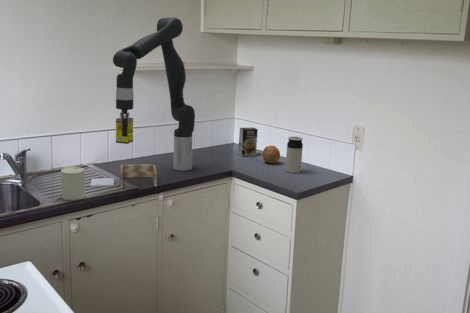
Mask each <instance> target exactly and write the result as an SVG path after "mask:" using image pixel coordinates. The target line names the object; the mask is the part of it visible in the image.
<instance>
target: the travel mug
mask: <svg viewBox="0 0 470 313" xmlns="http://www.w3.org/2000/svg"><path fill="white" fill-rule="evenodd" d="M287 139H288V142H287V146H286V158H285V172H287V173H289V172H290V174H299V173H301V170H302V161H303V160H302V157H303V148H304V146H303V145H304V144H303V140H304V138H303V137H301V136H288V138H287Z"/></svg>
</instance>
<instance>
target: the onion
mask: <svg viewBox="0 0 470 313" xmlns="http://www.w3.org/2000/svg"><path fill="white" fill-rule="evenodd" d="M261 156H262V159H263V160H264V162H265V163H268V164H275V163H277V162H278V161H279V160H280V159H281V158H280V157H281V152H280V149H279V148H278V147H277V146H275V145H267V146H265V148H264V149H263V150H262V155H261Z"/></svg>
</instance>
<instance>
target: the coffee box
mask: <svg viewBox="0 0 470 313" xmlns="http://www.w3.org/2000/svg"><path fill="white" fill-rule="evenodd" d="M238 134H239V135H238V136H239V137H238V147H237V148H238V149H237V150H238V151H237V154H238V155H239V156H240V157H241V156H242V157H243V156H248V157H256V156H257V142H258V129H257V128H255V127H239V133H238ZM243 158H244V157H243Z"/></svg>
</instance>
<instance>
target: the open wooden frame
mask: <svg viewBox="0 0 470 313" xmlns="http://www.w3.org/2000/svg"><path fill="white" fill-rule="evenodd" d="M127 178H128V179H129V178H132V179H133V178H136V179H137V178H152V179H153V184H154V187H158V173H157V168H156V165H155V164H120V188H124V179H127Z"/></svg>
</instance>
